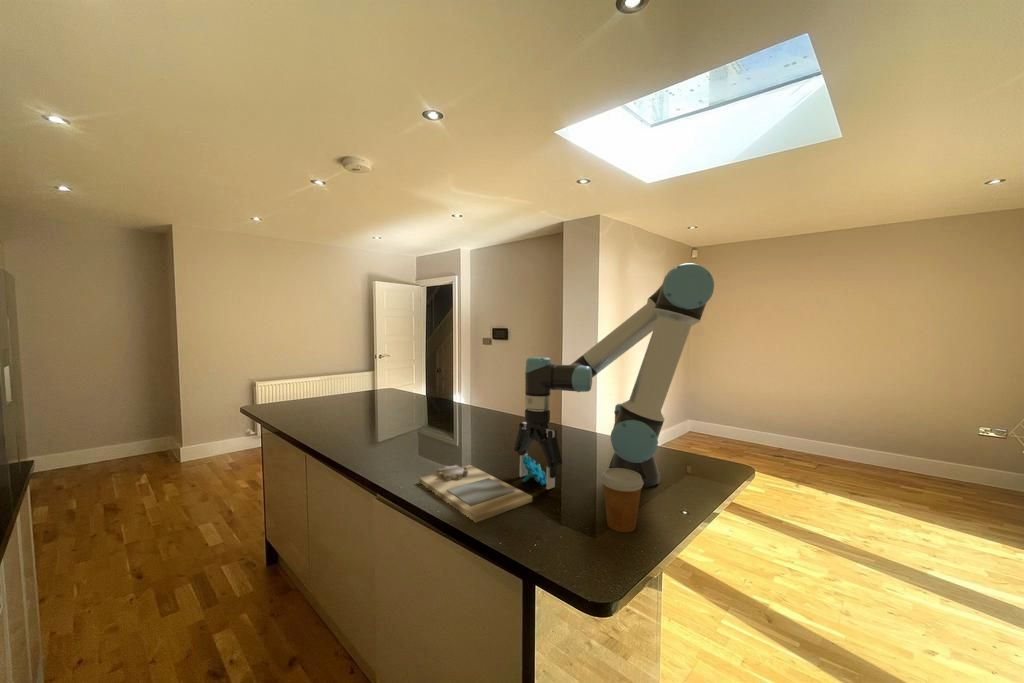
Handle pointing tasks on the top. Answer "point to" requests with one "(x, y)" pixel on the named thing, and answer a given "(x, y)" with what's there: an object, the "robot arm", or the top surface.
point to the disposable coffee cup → (621, 498)
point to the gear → (534, 471)
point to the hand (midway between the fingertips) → (536, 481)
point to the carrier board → (474, 491)
